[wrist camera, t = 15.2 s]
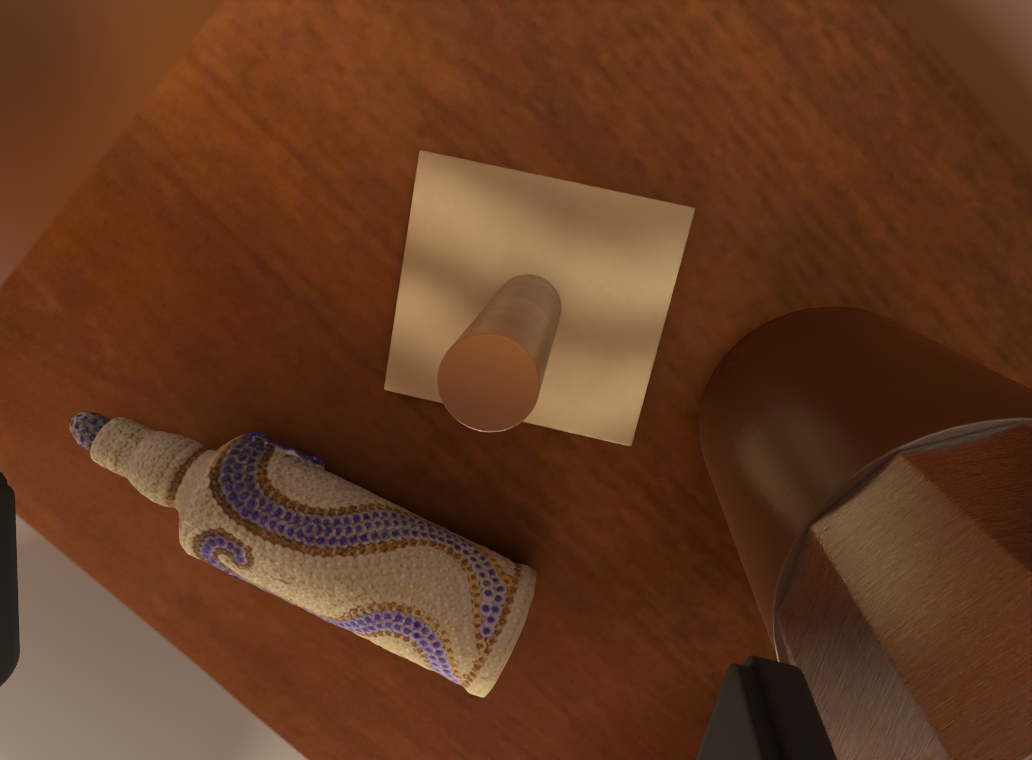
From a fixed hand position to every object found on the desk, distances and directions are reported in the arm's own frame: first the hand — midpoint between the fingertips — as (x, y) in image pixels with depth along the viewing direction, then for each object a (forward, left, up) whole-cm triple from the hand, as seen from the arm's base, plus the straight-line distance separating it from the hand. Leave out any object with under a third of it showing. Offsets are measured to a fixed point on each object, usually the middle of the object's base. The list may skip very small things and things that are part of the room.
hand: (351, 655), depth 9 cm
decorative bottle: (+14, -9, -28) cm, 32 cm away
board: (0, 0, -27) cm, 27 cm away
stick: (0, 0, -26) cm, 26 cm away
